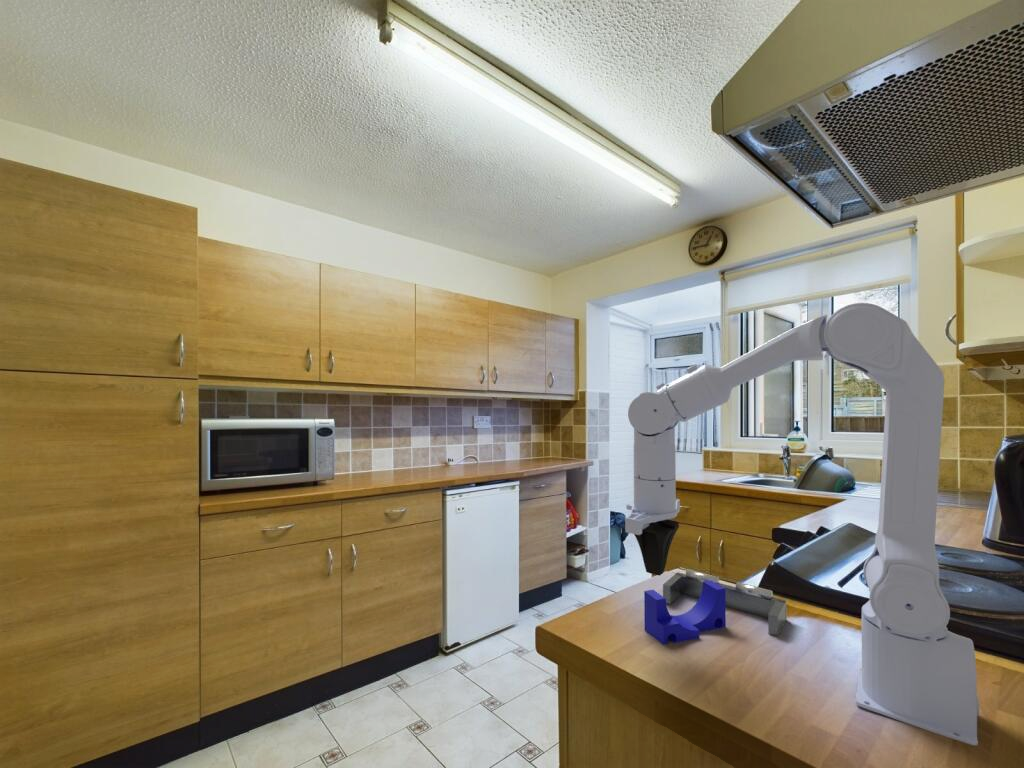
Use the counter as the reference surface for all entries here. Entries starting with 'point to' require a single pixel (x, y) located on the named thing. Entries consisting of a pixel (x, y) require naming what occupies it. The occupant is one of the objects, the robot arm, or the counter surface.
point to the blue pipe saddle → (685, 615)
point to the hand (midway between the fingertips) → (654, 572)
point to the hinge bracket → (731, 597)
